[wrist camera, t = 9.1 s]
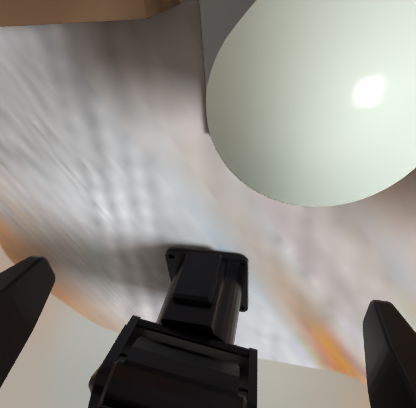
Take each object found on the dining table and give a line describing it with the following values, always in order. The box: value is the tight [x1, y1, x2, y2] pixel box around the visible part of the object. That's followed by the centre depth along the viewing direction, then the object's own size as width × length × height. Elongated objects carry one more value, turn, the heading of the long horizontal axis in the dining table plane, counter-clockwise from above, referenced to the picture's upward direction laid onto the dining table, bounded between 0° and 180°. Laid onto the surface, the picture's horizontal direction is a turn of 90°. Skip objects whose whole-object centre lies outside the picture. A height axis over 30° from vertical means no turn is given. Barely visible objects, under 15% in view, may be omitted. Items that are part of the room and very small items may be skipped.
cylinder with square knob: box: [206, 0, 416, 207], centre depth 11 cm, size 7×6×9 cm
